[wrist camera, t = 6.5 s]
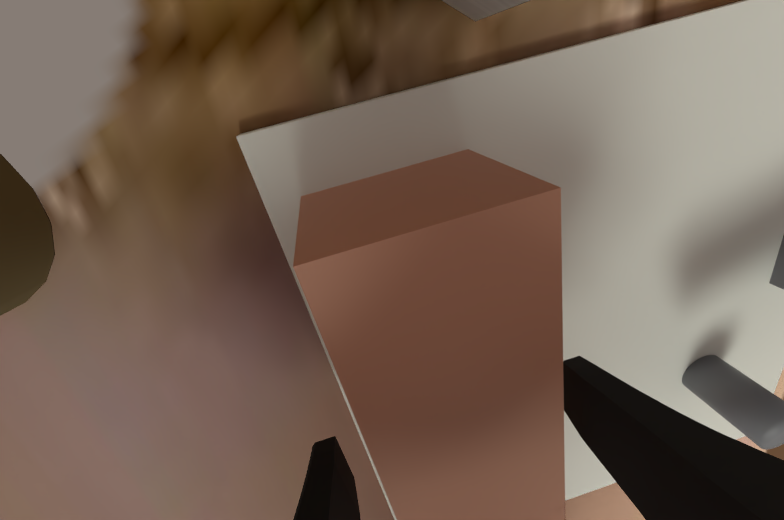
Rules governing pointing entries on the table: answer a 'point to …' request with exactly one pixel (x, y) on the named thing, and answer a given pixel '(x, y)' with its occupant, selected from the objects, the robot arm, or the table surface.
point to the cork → (21, 240)
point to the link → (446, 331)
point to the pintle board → (611, 200)
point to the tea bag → (482, 7)
